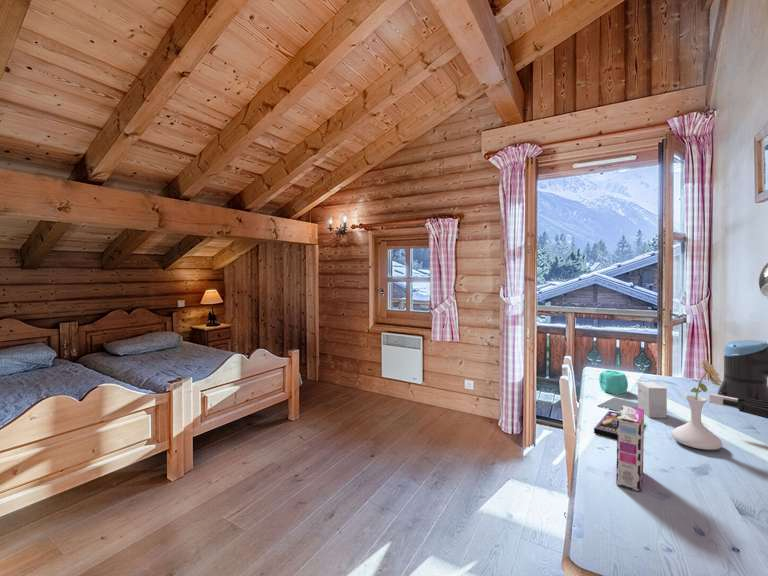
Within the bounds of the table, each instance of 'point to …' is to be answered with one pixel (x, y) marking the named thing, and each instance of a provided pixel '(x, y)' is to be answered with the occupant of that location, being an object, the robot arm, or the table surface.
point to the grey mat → (618, 404)
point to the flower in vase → (698, 417)
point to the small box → (652, 399)
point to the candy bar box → (630, 447)
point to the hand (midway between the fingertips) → (710, 398)
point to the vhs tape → (608, 425)
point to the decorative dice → (613, 382)
